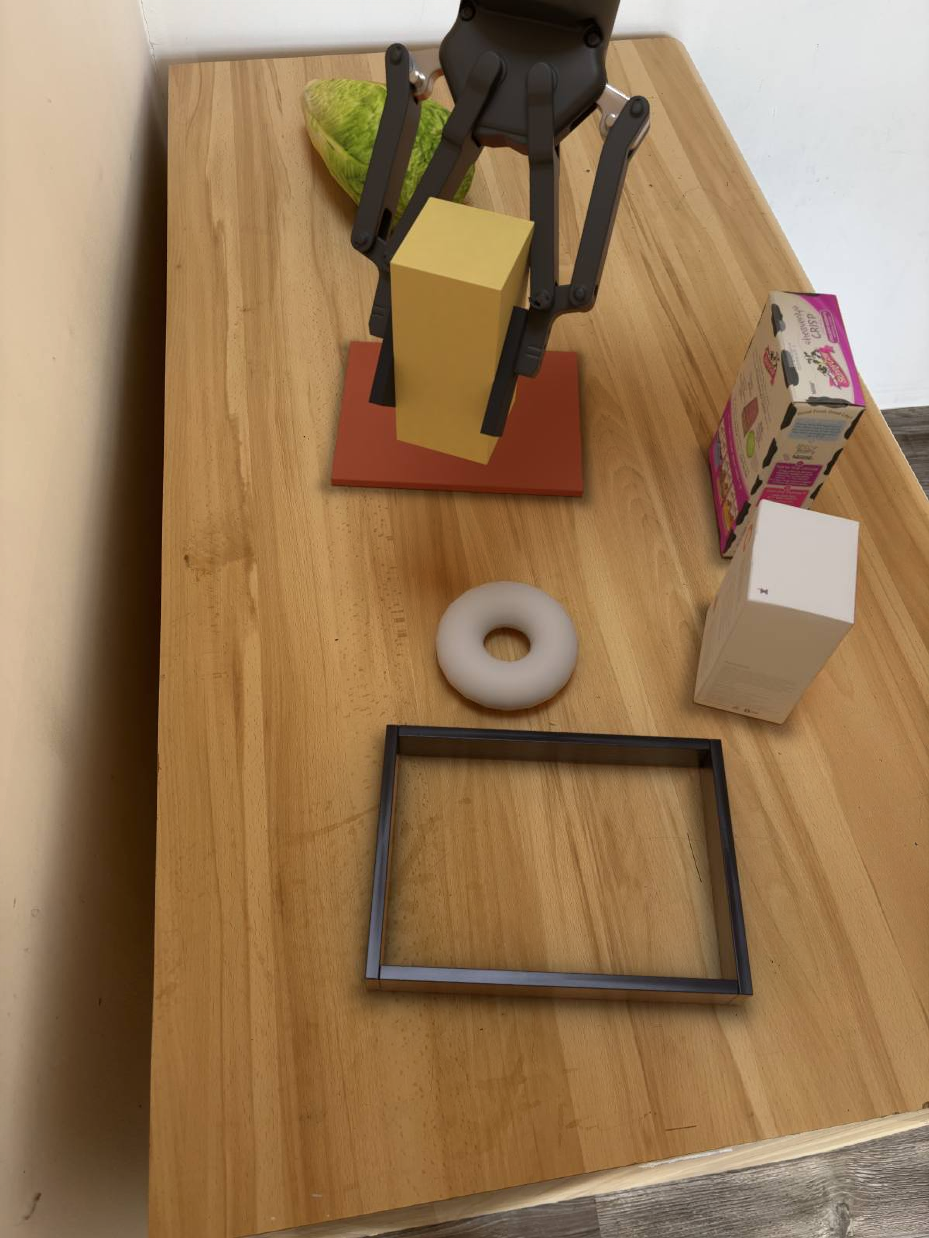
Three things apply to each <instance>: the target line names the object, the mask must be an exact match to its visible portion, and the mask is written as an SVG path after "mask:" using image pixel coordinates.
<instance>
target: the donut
mask: <svg viewBox="0 0 929 1238" xmlns="http://www.w3.org/2000/svg"><path fill="white" fill-rule="evenodd" d="M501 628H509V629H514V630H517V631H518V632H521V633H523V635H524V636H526V638H527V639H528V641H529V643H530V647H529V652H528V653H527V654H526V655H524V657H522V658H519V659H517V660H511V661H510V660H509V661H508V660H501V659H498V658H497V657H494V656H492V655H491V654H490V653H489V652H488V651H487V649H486V648H485V645H484V641H485V638H486V637H487V635H488V634H489V633H490V632H491V631H494V630H496V629H501ZM434 644H435V649H436V654H437V655H436V656H437V661H438V665H439V668H440V669H441V671H442V672H443V675H444V676H445V678H446V680H447V681H448V683H449V684H450V685H451V687H453V688H454V689H455V690H457V692H459V693H460V694H461V695H462V696H463V697H464V698H465V699H468V700H470V701H472V702H474V703H476V704H479V705H480V706H483V707H485V708H488V709H495V710H496V709H497V710H502V711H516V710H523V709H530V708H534V707H536V706H537V705H540V704H542V703H545V702H547V701H549V700H551V699H552V698H553V697H554V696H555V695H556V694H557V693H558V692H559V691H561V690H562V689H563V688H564V687H565V686H566V685H567V684H568V682H569V681H570V678H571V676H572V673H573V672H574V670H575V668H576V666H577V663H578V655H579V646H580V645H579V644H580V643H579V638H578V634H577V630H576V626H575V623H574V621H573V620H572V617H571V616H570V615H569V613H568V612H567V610H566V609H565V607H564V606H563V605H562V603H560V602H559V601H558V600H557V599H556V598H554V597H553V596H552V595H551V594H549V593H548V592H547V591H545V590H543V589H540V588H538V587H535V586H533V585H531V584H529V583H527V582H521V581H520V582H518V581H513V580H499V581H490V582H484V583H482V584H480V585H477V586H475V587H472V588H470V589H467V590H466V591H464V592H463V593H462V594H461V595H460V596H458V597H457V598H456V599H455V600H454V601H452V602H451V603H450V604H449V605H448V607H447V608H446V610H445V612H444V613H443V615H442V617H441V618H440V620H439V623H438V627H437V632H436V637H435V642H434Z"/></svg>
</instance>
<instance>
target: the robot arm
mask: <svg viewBox="0 0 929 1238" xmlns="http://www.w3.org/2000/svg"><path fill="white" fill-rule="evenodd" d="M621 1H622V0H459V7H458V11H457V15H456V18H455V21H454V23H453V25H451V28H450V29H449V31H447V33H446V35H445V36H443V39H442V40H441V42H440V45H439V46H436V47H429V48H424V49H423V48H422V49H413V50H408V48H407V47H406V46H405V45H404V44H403V43H400V42H394V43H392V44H390V45H389V46H388V47H387V48H386V51H385V53H384V68H385V72H384V73H385V84H386V89H387V96H386V100H385V104H384V108H383V112H382V115H381V119H380V123H379V127H378V131H377V135H376V139H375V143H374V147H373V151H372V155H371V159H370V163H369V166H368V170H367V174H366V178H365V182H364V186H363V190H362V194H361V198H360V202H359V206H358V205H357V209H356V214H355V218H354V222H353V224H352V225H353V226H352V230H351V233H350V244H351V246H352V248H353V249H354V250H356V251H357V252H358V253H359V254H361V255H362V256H364V257H365V258H366V259H368V260H369V261H371V262H372V263H373V264H374V265H375V267H376V268H377V272H378V279H377V283H376V287H375V288H376V289H375V293H374V297H373V302H372V306H371V311H370V315H369V319H368V332H369V335H370V336H372V337H376V338H378V339H382V342H381V343H382V345H381V350H380V354H379V358H378V363H377V367H376V371H375V376H374V380H373V384H372V389H371V393H370V397H369V403H373V404H376V405H380V406H386V407H394V408H396V403H395V377H394V350H393V323H392V296H391V270H390V262H391V260H392V258H393V257H394V255H395V254H396V252H397V250H398V249H399V247H400V245H401V244H402V242H403V240H404V239H405V237H406V235H407V234H408V232H409V230H410V229H411V227H412V226H413V224H414V222H415V221H416V219H417V217H418V216H419V214H420V212H421V211H422V209H423V207H424V206H425V204H426V202H427V201H428V199H429V197H433V198H437V199H441V200H445V201H449V202H452V200H453V199H454V197H455V195H456V193H457V191H458V189H459V187H460V185H461V183H462V182H463V180H464V178H465V176H466V174H467V172H468V170H469V168H470V167H471V166H472V165H473V164H474V163H475V164H476V162H477V161H478V159H479V158H480V155H481V154H482V152H483V150H484V148H485V147H487V148H491V149H500V148H509V149H511V150H513V151H514V152H517V153H519V154H520V155H522V156H526V157H527V162H528V169H529V170H528V171H529V173H528V174H529V221H533V222H534V223H535V224H534V232H533V235H532V239H531V243H530V270H529V296H527V300H528V303H529V307H528V308H526V307H525V308H521V307H517V306H513V310H512V314H511V318H510V322H509V325H508V329H507V333H506V337H505V341H504V345H503V348H502V352H501V356H500V360H499V364H498V368H497V372H496V375H495V379H494V382H493V385H492V388H491V392H490V396H489V400H488V404H487V408H486V411H485V415H484V419H483V423H482V427H481V431H480V433H481V434H485V435H489V436H492V437H502V436H503V432H504V428H505V424H506V421H507V417H508V413H509V409H510V406H511V402H512V398H513V394H514V391H515V387H516V383H517V379H518V376H519V375H521V376H525V377H529V378H533V379H534V378H535V377H536V376H537V374H538V373H539V372H540V370H541V366H542V362H543V358H544V355H545V351H547V347H548V344H549V340H550V336H551V332H552V330H553V326H554V323H555V321H556V320H557V319H558V318H559V317H560V316H563V315H566V314H568V315H569V314H574V313H575V314H576V313H580V314H582V313H583V314H586V313H589V312H590V311H592V310H593V309H594V307H595V305H596V302H597V298H598V293H599V289H600V285H601V281H602V278H603V277H602V276H603V272H604V268H605V265H606V260H607V256H608V252H609V248H610V243H611V240H612V235H613V231H614V227H615V223H616V219H617V214H618V211H619V206H620V202H621V198H622V195H623V190H624V186H625V183H626V182H625V181H626V177H627V173H628V169H629V165H630V162H631V161H632V159H633V157H634V156H635V154H636V153H637V151H638V149H639V148H640V146H641V144H642V143H643V141H644V140H645V138H646V137H647V135H648V133H649V131H650V129H651V106H650V103H649V100H648V99H647V98H646V97H645V96H643V95H639V94H638V95H633V96H631V97H630V96H628V95H627V94H625V93H624V92H623V91H621V90H619V89H617V88H616V87H614V86H613V85H611V84H609V79H608V72H607V68H606V61H607V59H606V58H607V53H608V49H609V45H610V41H611V38H612V34H613V30H614V27H615V23H616V19H617V16H618V12H619V9H620V4H621ZM443 76H444V79H445V82H446V84H447V88H448V90H449V93H450V96H451V99H452V101H453V105H454V107H453V108H452V110H451V111H450V112H451V114H450V116H449V118H448V120H447V122H446V124H445V126H444V128H443V131H442V136H441V141H440V143H439V145H438V147H437V149H436V151H435V153H434V155H433V156H432V158H431V160H430V162H429V164H428V166H427V168H426V170H425V172H424V174H423V176H422V178H421V180H420V181H419V183H418V185H417V187H416V189H415V191H414V193H413V195H412V197H411V199H410V201H409V203H408V205H407V207H406V208H405V210H404V212H403V214H402V216H401V218H400V220H399V222H398V224H397V226H396V228H395V230H394V231H391V229H392V225H393V222H394V218H395V214H396V210H397V206H398V203H399V199H400V195H401V191H402V188H403V184H404V180H405V176H406V172H407V169H408V165H409V161H410V157H411V154H412V150H413V146H414V142H415V138H416V135H417V131H418V127H419V122H420V118H421V109H422V101H425V100H427V99H428V98H430V97H431V96H432V94H433V91H434V86H435V83H436V81H437V80H438V79H439V78H441V77H443ZM596 110H598V112H600V114H601V118H600V121H599V124H598V129H599V133H600V138H601V140H602V141H603V144H602V148H601V150H600V155H599V158H598V163H597V167H596V172H595V175H594V180H593V184H592V189H591V192H590V197H589V201H588V206H587V211H586V214H585V219H584V223H583V228H582V232H581V236H580V241H579V244H578V249H577V252H576V258H575V262H574V265H573V269H572V270H573V271H572V273H571V279H570V283H568V284H560V177H561V143H562V142H563V141H564V139H566V138H567V137H568V136H569V135H570V134H572V132H574V130H576V129H577V128H578V127H579V126H580V125H581V124H582V123H583V122H584V121H585V120H587V118H589V117H590V115H591V114H593V113H594V112H595V111H596ZM391 233H392V234H391Z"/></svg>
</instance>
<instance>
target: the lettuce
mask: <svg viewBox="0 0 929 1238" xmlns="http://www.w3.org/2000/svg"><path fill="white" fill-rule="evenodd" d="M300 91H301V92H300V94H299V103H300V107H301V110H302V115H303V120H304V124H305V125H304V126H305V129H306V131H307V134H308V136H309V138H310V141H311V143H312V145H313V147H314V148H315V149H316V151H317V153H318V154H319V155H320V157H321V158H322V160H323V162H324V164H325V166H326V168H327V170H328V171H329V173H330V175H331V176H332V178H333V179H334V180H335V181H336V182H337V184H339V186H340V187H341V188H342V189H343V191H345V192H346V194H347V195H348V196H349V198H350V199H351V200H352V201H353V202H354V203H355V204H356V205H357V207H358V206H359V202H360V198H361V194H362V190H363V186H364V182H365V178H366V174H367V170H368V166H369V163H370V159H371V155H372V151H373V147H374V143H375V139H376V135H377V131H378V127H379V123H380V119H381V115H382V112H383V108H384V104H385V100H386V96H387V89H386V82H385V83H384V82H377V81H371V80H359V79H349V78H313V79H312V80H310V81H308V82H307V83H306V84H304V85H303V87H302V89H301V90H300ZM451 112H452V111H450V110H449V108H447V107H445V106H444V105H443V104H441V103H439V102H437V101H436V100H434V99H432V98H430V97H429V98H428V99H427V100H425V101H422V109H421V118H420V122H419V127H418V131H417V135H416V138H415V142H414V146H413V150H412V154H411V157H410V161H409V165H408V169H407V172H406V176H405V180H404V184H403V188H402V191H401V195H400V199H399V203H398V206H397V210H396V214H395V218H394V222H393V225H392V229H391V232H394V230H395V228H396V226H397V224H398V222H399V220H400V218H401V216H402V214H403V212H404V210H405V208H406V207H407V205H408V203H409V201H410V199H411V197H412V195H413V193H414V191H415V189H416V187H417V185H418V183H419V181H420V180H421V178H422V176H423V174H424V172H425V170H426V168H427V166H428V164H429V162H430V160H431V158H432V156H433V155H434V153H435V151H436V149H437V147H438V145H439V143H440V141H441V136H442V131H443V128H444V126H445V124H446V122H447V120H448V118H449V116H450V114H451ZM475 173H476V162H475V163H474V164H473V165H472V166H471V167H470V168H469V170H468V172H467V174H466V176H465V178H464V180H463V182H462V183H461V185H460V187H459V189H458V191H457V193H456V195H455V197H454V199H453V200H452V202H454V203H458V204H462V202H463V201H464V199H465V197H466V196H467V194H468V193H469V191H470V189H471V186H472V183H473V180H474V176H475Z"/></svg>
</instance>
